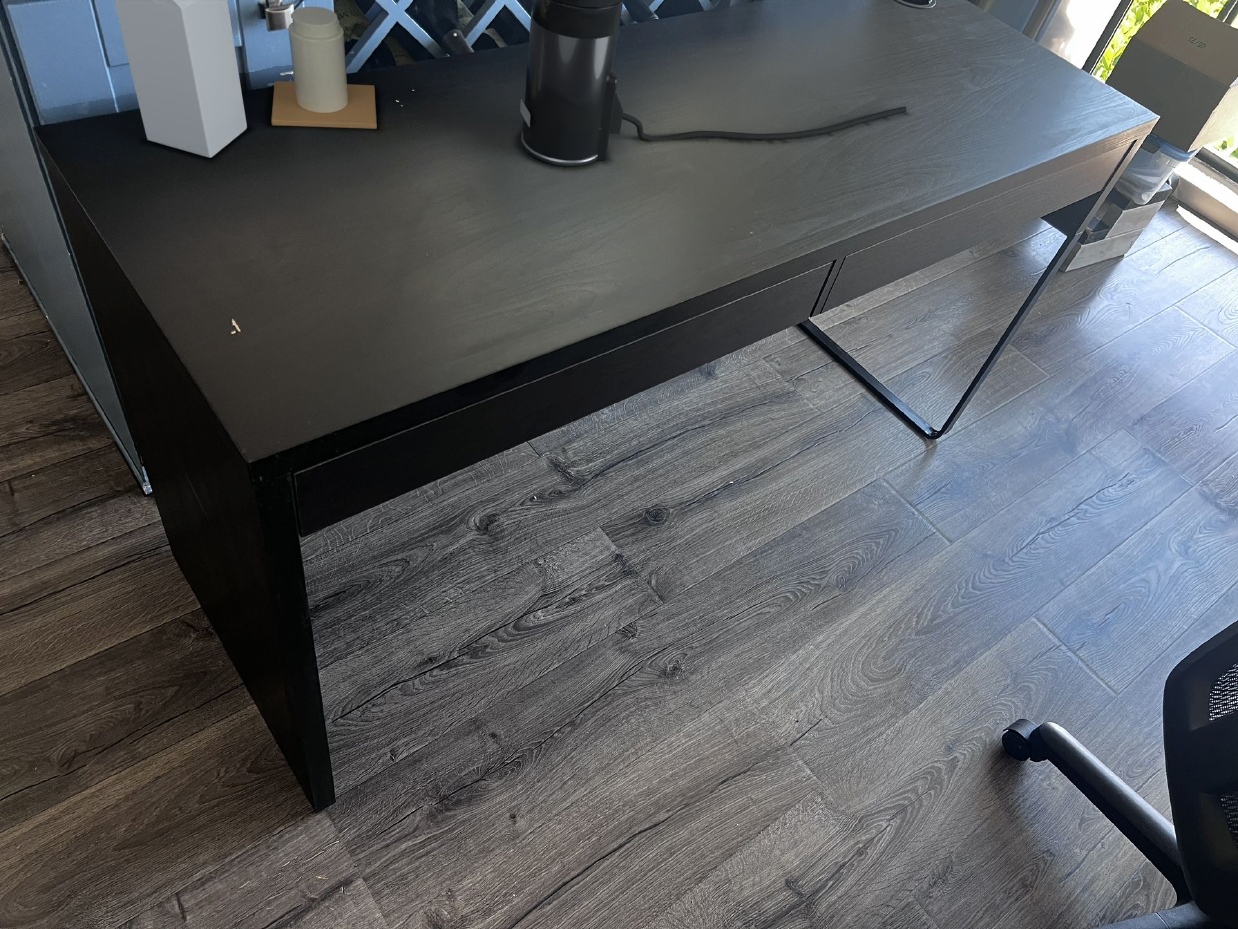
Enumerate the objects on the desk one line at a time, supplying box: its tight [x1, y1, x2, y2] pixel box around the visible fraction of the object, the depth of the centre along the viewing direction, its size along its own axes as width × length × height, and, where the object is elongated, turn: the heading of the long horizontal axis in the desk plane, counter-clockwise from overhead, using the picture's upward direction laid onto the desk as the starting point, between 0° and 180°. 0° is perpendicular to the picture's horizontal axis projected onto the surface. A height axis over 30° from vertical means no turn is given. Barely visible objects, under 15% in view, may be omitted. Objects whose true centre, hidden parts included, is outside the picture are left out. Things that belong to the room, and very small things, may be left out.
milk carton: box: [113, 0, 248, 158], centre depth 91 cm, size 7×7×19 cm
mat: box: [271, 80, 378, 130], centre depth 106 cm, size 11×9×1 cm
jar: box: [287, 6, 348, 113], centre depth 102 cm, size 6×6×9 cm
